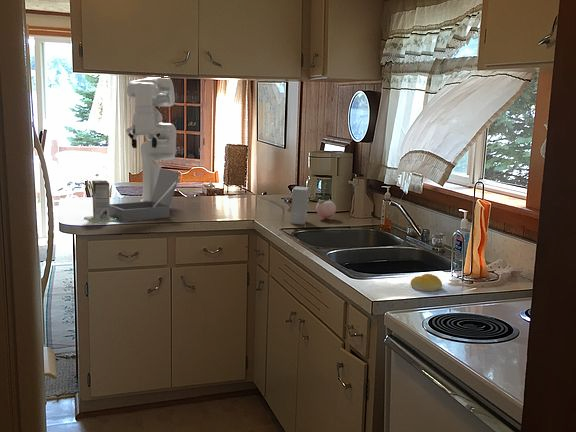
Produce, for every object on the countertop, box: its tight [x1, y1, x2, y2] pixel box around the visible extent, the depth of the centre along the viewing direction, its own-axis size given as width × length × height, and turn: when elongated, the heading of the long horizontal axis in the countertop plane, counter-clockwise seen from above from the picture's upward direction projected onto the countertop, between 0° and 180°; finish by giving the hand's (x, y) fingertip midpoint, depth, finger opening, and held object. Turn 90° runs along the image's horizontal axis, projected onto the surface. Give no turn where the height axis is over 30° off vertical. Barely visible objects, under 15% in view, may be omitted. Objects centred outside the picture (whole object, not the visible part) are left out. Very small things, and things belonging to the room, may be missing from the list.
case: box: [110, 168, 181, 223], centre depth 287 cm, size 20×27×20 cm
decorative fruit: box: [315, 197, 337, 220], centre depth 292 cm, size 9×8×10 cm
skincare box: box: [290, 185, 310, 225], centre depth 282 cm, size 8×7×16 cm
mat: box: [83, 215, 119, 224], centre depth 277 cm, size 13×10×1 cm
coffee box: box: [91, 180, 111, 220], centre depth 276 cm, size 9×6×16 cm
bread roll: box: [409, 273, 443, 293], centre depth 186 cm, size 8×9×4 cm
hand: (144, 147), depth 293 cm, fingers open, 9 cm apart
